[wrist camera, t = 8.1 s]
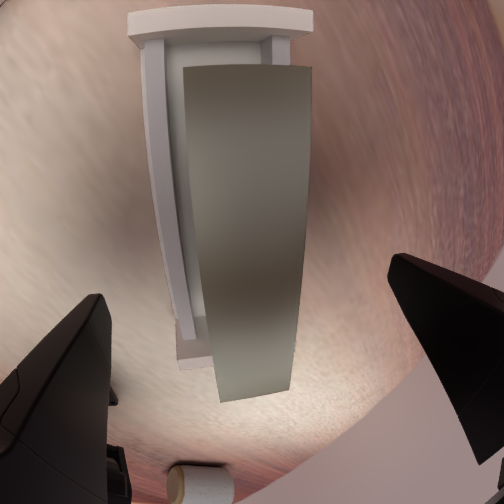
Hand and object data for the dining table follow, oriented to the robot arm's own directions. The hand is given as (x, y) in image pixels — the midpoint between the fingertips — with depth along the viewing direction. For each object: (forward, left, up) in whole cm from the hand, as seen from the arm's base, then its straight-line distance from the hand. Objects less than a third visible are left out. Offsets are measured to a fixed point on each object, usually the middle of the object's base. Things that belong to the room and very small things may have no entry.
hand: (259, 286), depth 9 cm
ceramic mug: (-42, +8, -10) cm, 44 cm away
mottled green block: (0, 0, -8) cm, 8 cm away
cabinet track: (0, 0, -10) cm, 10 cm away
